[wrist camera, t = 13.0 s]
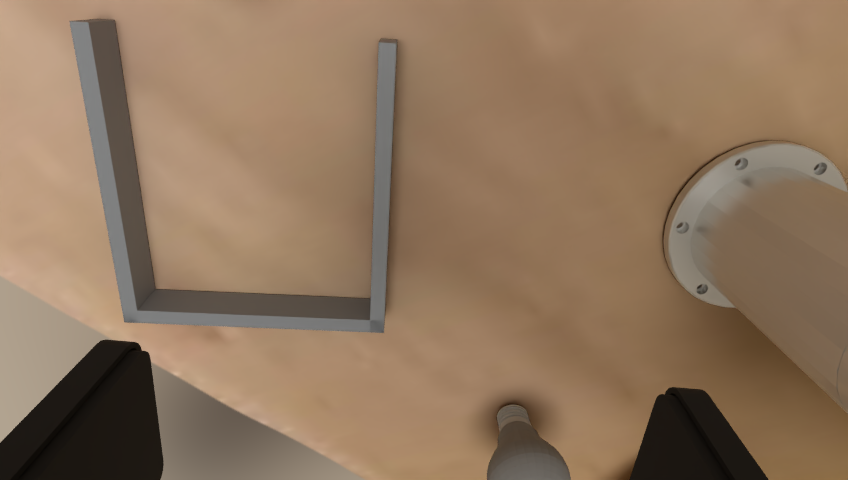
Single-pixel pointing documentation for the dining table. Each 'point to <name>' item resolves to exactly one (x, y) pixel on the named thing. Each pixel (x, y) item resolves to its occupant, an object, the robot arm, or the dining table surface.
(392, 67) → the grey u-shaped frame
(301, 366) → the dining table surface
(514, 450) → the light bulb
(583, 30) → the dining table surface
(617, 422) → the dining table surface
